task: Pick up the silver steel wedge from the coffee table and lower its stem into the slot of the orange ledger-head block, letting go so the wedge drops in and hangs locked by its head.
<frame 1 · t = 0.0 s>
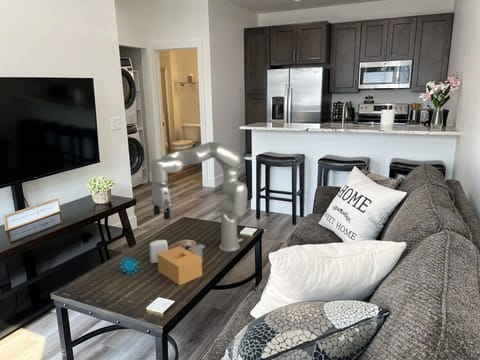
hand: (162, 216, 181), 31 cm above the table, tool pointing down, fingers open, 9 cm apart
gear: (130, 272, 190), on the table
photo printer: (159, 261, 202), on the table
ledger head: (179, 273, 188), on the table
wedge: (197, 262, 200), on the table
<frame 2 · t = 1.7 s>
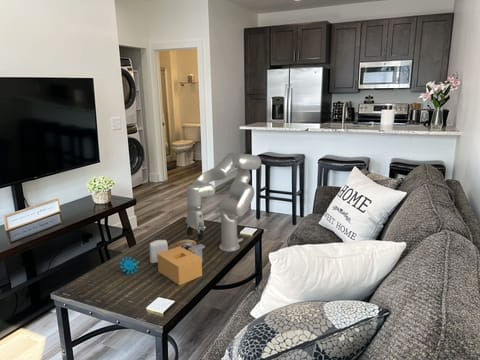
hand: (195, 237, 196), 15 cm above the table, tool pointing down, fingers open, 9 cm apart
nothing on the table moved.
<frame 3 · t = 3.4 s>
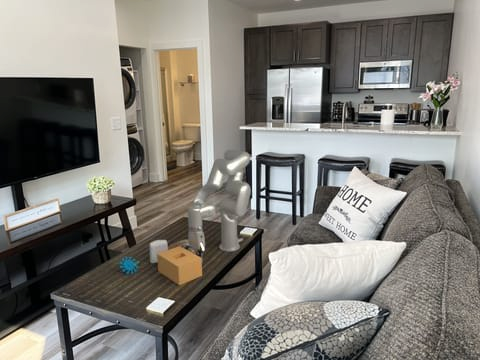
hand: (196, 258, 199), 2 cm above the table, tool pointing down, fingers closed on wedge, 3 cm apart
wedge: (196, 262, 200), on the table, touching gripper
everything else where it was.
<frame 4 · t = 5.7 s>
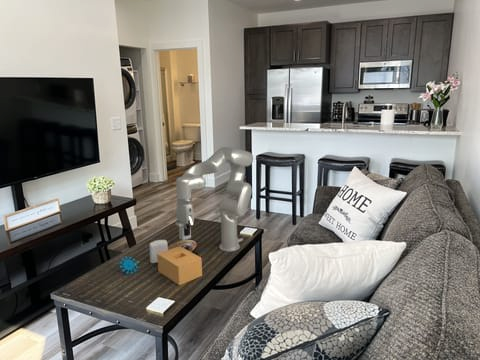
hand: (185, 234, 188), 20 cm above the table, tool pointing down, fingers closed on wedge, 3 cm apart
wedge: (185, 238, 188), point 18 cm above the table, touching gripper
everything else where it was.
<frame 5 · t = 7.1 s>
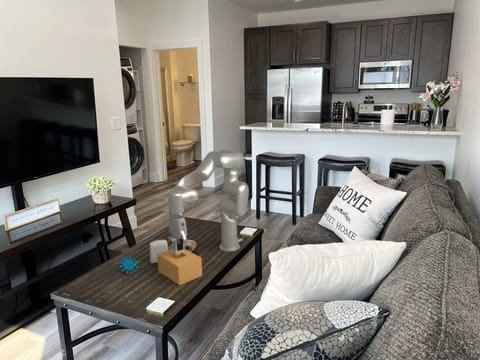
hand: (178, 248, 184), 14 cm above the table, tool pointing down, fingers closed on wedge, 3 cm apart
wedge: (178, 252, 185), point 12 cm above the table, touching gripper
everything else where it was.
when the fingers open (11 cm above the table, at t = 8.0 s): wedge drops 6 cm, resting on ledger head.
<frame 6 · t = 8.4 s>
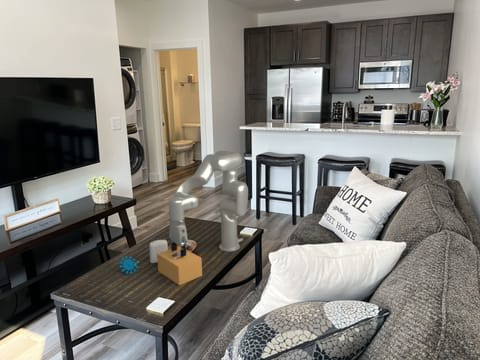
hand: (178, 253, 185), 11 cm above the table, tool pointing down, fingers open, 8 cm apart
wedge: (179, 269, 187), point 2 cm above the table, touching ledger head
everything else where it was.
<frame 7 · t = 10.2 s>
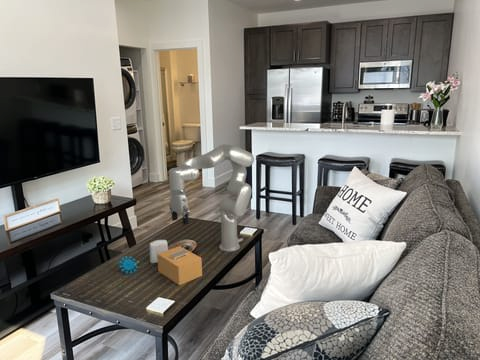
hand: (180, 222, 191), 25 cm above the table, tool pointing down, fingers open, 9 cm apart
nothing on the table moved.
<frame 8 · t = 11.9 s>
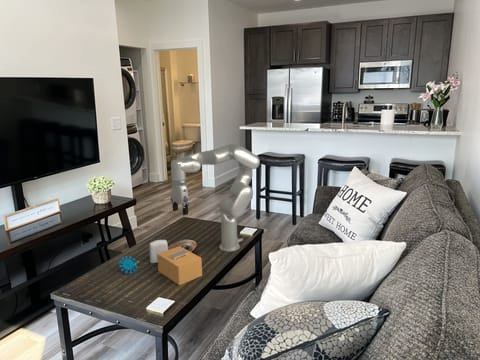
hand: (180, 212, 196), 28 cm above the table, tool pointing down, fingers open, 9 cm apart
at the end: wedge 0.1 cm off-centre on the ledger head, point 2.0 cm above the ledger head's base; wedge tilted 0°; wedge touching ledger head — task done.
